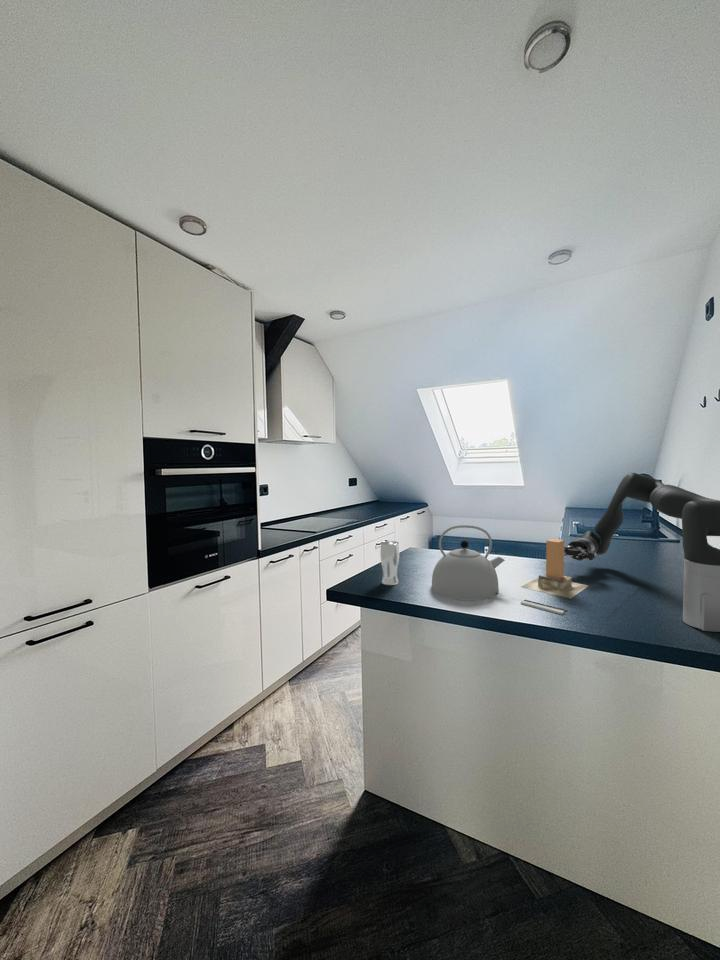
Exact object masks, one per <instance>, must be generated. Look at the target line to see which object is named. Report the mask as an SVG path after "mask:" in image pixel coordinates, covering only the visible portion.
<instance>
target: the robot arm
mask: <svg viewBox="0 0 720 960" xmlns="http://www.w3.org/2000/svg"><path fill="white" fill-rule="evenodd" d="M626 498H629V499H633V500H636V501H640V502H645V503H650V504H651V506H652V507H653V509H655V510H656V511H658V512H659V513H661V514H664V515H666V516H668V517H672V518H675V519H680V520H681V531H682V533H681V534H682V535H681V536H682V548H683V555H684V558H683V586H682V587H683V588H682V589H683V590H682V591H683V595H682V621H683V622H684V623H685V624H686V625H687V626H691V627H693V628H697V629H699V630H701V631H703V632H715V633H717V632H718V633H720V548H717V547H714V546H713V545H711V544H709V542H708V537H720V499H713V498H709V497H706V496H702V495H700V494H698V493H696V492H693V491H690V490H687V489H684V488H682V487H679V486H676V485H673V484H664V483H663V482H661V481H660V480H658V479H656V478H654V477H653V476H652V477H651V476H649V475H644V474H641V473H636V472H629V473H627V474H625V476H623V478H622V479H621V481H620V482H619V485H618V487H617V488H616V490H615V492H614V494H613V495H612V498H611V501H610V503H608V504H609V505H608V507H607V509H606V510H605V512H604V513H603V515H602V516H601V517H600V519H599V520H598V521H597V522H596V524H595V526H594V530H587V531H585V532H584V533H583V534H582V535H581V537H580V538H577V539H575V540H572V541H571V542H569V543H568V544H567V546H564V557H570V558H572V559H573V560H577V561H583V560H587V559H588V560H589V561H592V560H594V559H596V558H597V555H598V556H599V555H600V556H601V555H604V554H605V553H606V552H608V550H609V549H610V546H611V542H612V538H613V536H614V535H615V533H616V532H617V531H618V530H619V529H620V527H621V526H622V524H623V521H624V513H623V503H624V502H625V501H624V500H625V499H626Z"/></svg>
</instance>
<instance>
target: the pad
mask: <svg viewBox="0 0 720 960" xmlns="http://www.w3.org/2000/svg"><path fill="white" fill-rule="evenodd" d="M520 604H521V605H524V606H528V607H532V608H536V609H538V610H541V611H542V610H543V611H546V612H549V613H553V614H554V613H555V614H558V615H561V616H562V615H564V614H565V613H566V612H568V610H567V609H563V608H560V607H556V606H553V605H548V604H544V603H540V602H536V601H532V600H527V599H524V600H522V601H520Z"/></svg>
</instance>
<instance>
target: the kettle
mask: <svg viewBox="0 0 720 960" xmlns="http://www.w3.org/2000/svg"><path fill="white" fill-rule="evenodd" d="M459 528H463V529H464V528H467V529H474V530H479V531H481V532H483V533H484V534H485V535H486V536H487V537H488V541H489V547H488V549H487V552H486V554H485V555H483V554H481V553H480V552H478V551H476V550H473V549H468V547H469V542H468V541H467V540H461V542H460V547H461V548H456V549H453V550H451V551H449V552H447V553H446V552H444V550H443V547H442V541H443V537H444V536H445V535H446V534H447V533H448V532H449V531H451V530H453V529H454V530H455V529H459ZM492 540H493V539H492V537H491V535H490V534H489V532H488V531H487V530H485V529H484V528H481V527H480V526H479V527H478V526H475V525H468V524H465V525H464V524H463V525H462V524H461V525H453V526H450V527H449V528H447V529H446V530H444V531H443V532H442V533H441V535H440V537H439V541H438V548H439V551H440V553H441V554H442V557H441V558H439V560H438V561H437V562H436V564H435V566H434V568H433V570H432V575H431V590H432V591H433V592H434V593H435V594H438V595H440V596H442V597H445V598H450V599H454V600H461V601H484V600H490V599H492V598H495V597H497V596H498V595H499V578H498V574H497V571H496V568H498V567H499V566H500V565H501V564H502V563H504V562H505V561H506V560H505V559H504V558H502V557H500V556H496V557H494V558H493V559H491V560H489V558H488V556H489V555H490V553H491V551H492V548H493V541H492Z"/></svg>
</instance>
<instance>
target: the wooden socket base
mask: <svg viewBox="0 0 720 960" xmlns="http://www.w3.org/2000/svg"><path fill="white" fill-rule="evenodd" d="M572 579H573V578H572V576H568V575H567V576H566V575H564V579H562V580H560V579H555V578H550V577H546V573H545V574H543V575H541V574H539V575H538V578H535V579H534V580H532V581H529V582H527V583H526V584H523V585H521V586H520V588H522V589H528V590H531V591H536V592H541V593H545V594H548V595H553V596H558V597H563V598H567V599H572V598H573V597H575V596H577V595H578V594H579V593H581V592H582V591H584V590H585V589H587V588H588V587H589V586H590V585H587V584H585V583H583V584H582V583H578V582H573V581H572Z"/></svg>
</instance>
